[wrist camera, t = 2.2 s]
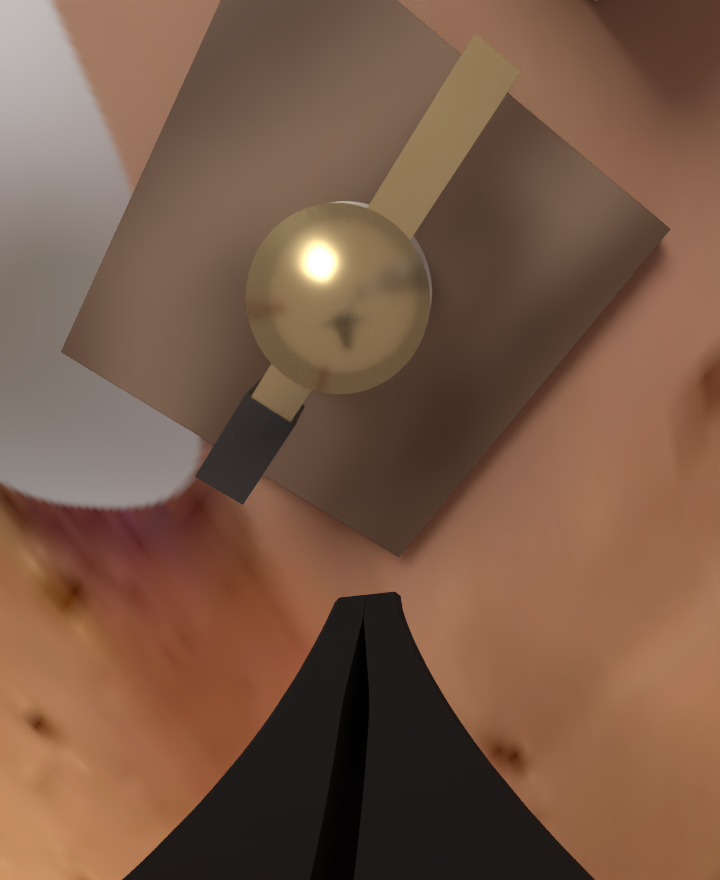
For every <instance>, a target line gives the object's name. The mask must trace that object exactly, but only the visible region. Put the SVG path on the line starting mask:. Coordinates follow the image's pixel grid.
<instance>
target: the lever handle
mask: <svg viewBox="0 0 720 880" xmlns="http://www.w3.org/2000/svg"><path fill="white" fill-rule="evenodd" d="M520 73H521V71H520V70H519V69H517V68H516V67H515V66H514V65H513V64H512V63H510V62H509V61H508V60H507V59H506V58H505V57H503V56H502V55H501V54H500V53H499V52H497V51H496V50H495V49H494V48H493V47H492V46H490V45H489V44H488V43H487V42H486V41H485V40H483V39H482V38H481V37H480V36H479V35H477V34H476V33H474V35H473V37H472V38H471V40H470V41H469V43H468V45H467V46H466V48H465V50H464V51H463V53H462V54H461V56H460V58H459V59H458V61H457V63H456V64H455V66H454V67H453V69H452V71H451V72H450V74H449V76H448V77H447V79H446V80H445V82H444V84H443V85H442V87H441V89H440V90H439V92H438V94H437V95H436V97H435V98H434V100H433V102H432V103H431V105H430V107H429V108H428V110H427V111H426V113H425V115H424V116H423V118H422V120H421V121H420V123H419V124H418V126H417V128H416V129H415V131H414V133H413V134H412V136H411V137H410V139H409V141H408V142H407V144H406V146H405V147H404V149H403V150H402V152H401V154H400V155H399V157H398V159H397V160H396V162H395V163H394V165H393V167H392V168H391V170H390V172H389V173H388V175H387V176H386V178H385V180H384V181H383V183H382V185H381V186H380V188H379V189H378V191H377V193H376V194H375V196H374V198H373V199H372V201H371V202H370V204H369V206H368V207H367V208H365V207H361V206H358V205H354V204H347V203H326V204H319V205H315V206H312V207H308V208H305V209H303V210H301V211H298V212H296V213H294V214H292V215H291V216H289V217H288V218H286V219H285V220H283V221H282V222H281V223H280V224H279V225H277V226H276V227H275V228H274V229H273V230H272V231H271V232H270V233H269V235H268V236H267V237H266V238H265V239H264V241H263V242H262V244H261V246H260V247H259V249H258V250H257V252H256V255H255V257H254V259H253V261H252V264H251V267H250V270H249V274H248V279H247V285H246V308H247V315H248V320H249V324H250V327H251V330H252V333H253V335H254V337H255V339H256V342H257V344H258V346H259V347H260V349H261V350H262V352H263V354H264V355H265V356H266V358H267V359H268V360H269V361H270V362H271V365H270V367H269V368H268V370H267V372H266V373H265V375H264V376H263V378H261V379H260V380H259V381H258V382H257V383H256V384H255V385H254V386H253V387H252V388H251V389H250V390H249V391H248V392H247V393H246V394H245V396H244V397H243V399H242V401H241V402H240V404H239V406H238V407H237V409H236V410H235V412H234V414H233V415H232V417H231V419H230V420H229V422H228V424H227V425H226V427H225V428H224V430H223V432H222V433H221V435H220V437H219V438H218V440H217V442H216V443H215V445H214V447H213V448H212V450H211V451H210V453H209V455H208V456H207V458H206V460H205V461H204V463H203V465H202V466H201V468H200V470H199V471H198V473H197V474H196V476H195V477H197V478H198V479H200V480H202V481H204V482H205V483H207V484H209V485H210V486H212V487H214V488H215V489H217V490H219V491H220V492H222V493H224V494H226V495H227V496H229V497H231V498H232V499H234V500H236V501H237V502H239V503H241V504H242V505H243V504H244V502H245V501H246V499H247V498H248V496H249V495H250V493H251V492H252V490H253V489H254V487H255V486H256V484H257V483H258V481H259V480H260V478H261V477H262V475H263V474H264V472H265V471H266V469H267V468H268V466H269V465H270V463H271V461H272V460H273V458H274V457H275V455H276V454H277V452H278V451H279V449H280V448H281V446H282V445H283V443H284V442H285V440H286V439H287V437H288V436H289V434H290V433H291V431H292V430H293V428H294V427H295V425H296V423H297V421H298V419H299V417H300V415H301V413H302V411H303V409H304V407H305V406H304V405H303V402H304V401H305V399H306V398H307V396H308V395H309V393H310V392H311V390H314V391H318V392H322V393H329V394H351V393H357V392H361V391H365V390H368V389H371V388H373V387H376V386H378V385H380V384H382V383H384V382H385V381H387V380H389V379H390V378H391V377H393V376H394V375H395V374H397V373H398V372H399V371H400V370H401V369H402V368H403V367H404V366H405V365H406V364H407V363H408V361H409V360H410V359H411V358H412V356H413V355H414V353H415V352H416V350H417V348H418V347H419V345H420V343H421V340H422V338H423V336H424V333H425V330H426V327H427V324H428V318H429V313H430V288H429V282H428V277H427V273H426V270H425V267H424V264H423V261H422V259H421V257H420V255H419V253H418V251H417V250H416V248H415V247H414V245H413V244H412V242H411V241H410V240H411V238H412V237H413V235H414V234H415V232H416V231H417V229H418V228H419V226H420V225H421V223H422V222H423V220H424V218H425V217H426V215H427V214H428V212H429V211H430V209H431V208H432V206H433V205H434V203H435V202H436V200H437V199H438V197H439V196H440V194H441V193H442V191H443V190H444V188H445V187H446V185H447V184H448V182H449V180H450V179H451V177H452V176H453V174H454V173H455V171H456V170H457V168H458V167H459V165H460V164H461V162H462V161H463V159H464V158H465V156H466V155H467V153H468V152H469V150H470V149H471V147H472V145H473V144H474V142H475V141H476V139H477V138H478V136H479V135H480V133H481V132H482V130H483V129H484V127H485V126H486V124H487V123H488V121H489V120H490V118H491V117H492V115H493V114H494V112H495V111H496V109H497V107H498V106H499V104H500V103H501V101H502V100H503V98H504V97H505V95H506V94H507V92H508V91H509V89H510V88H511V86H512V85H513V83H514V82H515V80H516V79H517V77H518V76H519V74H520Z"/></svg>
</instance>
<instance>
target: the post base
mask: <svg viewBox="0 0 720 880" xmlns="http://www.w3.org/2000/svg"><path fill="white" fill-rule="evenodd" d="M460 56H461V54H460V53H459V52H458V51H457V50H456V49H454V48H453V47H452V46H451V45H450V44H448V43H447V42H446V41H445V40H444V39H442V38H441V37H440V36H439V35H438V34H436V33H435V32H434V31H433V30H432V29H430V28H429V27H428V26H427V25H426V24H425V23H423V22H422V21H421V20H420V19H419V18H417V17H416V16H415V15H414V14H413V13H411V12H410V11H409V10H408V9H407V8H405V7H404V6H403V5H402V4H401V3H399V2H398V1H397V0H221V1H220V4H219V6H218V8H217V10H216V12H215V14H214V17H213V19H212V21H211V23H210V25H209V28H208V30H207V32H206V34H205V36H204V39H203V41H202V43H201V45H200V47H199V50H198V52H197V54H196V56H195V58H194V61H193V63H192V65H191V67H190V69H189V72H188V74H187V76H186V78H185V80H184V83H183V85H182V87H181V89H180V91H179V94H178V96H177V98H176V100H175V102H174V105H173V107H172V109H171V111H170V113H169V116H168V118H167V120H166V122H165V124H164V127H163V129H162V131H161V133H160V135H159V138H158V140H157V142H156V144H155V146H154V149H153V151H152V153H151V155H150V157H149V160H148V162H147V164H146V166H145V168H144V171H143V173H142V175H141V177H140V179H139V182H138V184H137V186H136V188H135V190H134V193H133V195H132V197H131V199H130V201H129V204H128V206H127V208H126V210H125V212H124V215H123V217H122V219H121V221H120V223H119V225H118V228H117V230H116V232H115V234H114V236H113V239H112V241H111V243H110V245H109V247H108V250H107V252H106V254H105V256H104V258H103V261H102V263H101V265H100V267H99V269H98V272H97V274H96V276H95V278H94V280H93V283H92V285H91V287H90V289H89V291H88V294H87V296H86V298H85V301H84V302H83V305H82V307H81V309H80V311H79V313H78V316H77V318H76V320H75V322H74V324H73V327H72V329H71V331H70V333H69V335H68V338H67V340H66V342H65V344H64V346H63V349H62V351H61V352H62V353H64V354H65V355H67V356H69V357H70V358H72V359H73V360H75V361H77V362H79V363H80V364H82V365H83V366H85V367H86V368H88V369H90V370H91V371H93V372H95V373H97V374H98V375H100V376H101V377H103V378H105V379H106V380H108V381H110V382H111V383H113V384H114V385H116V386H118V387H119V388H121V389H123V390H125V391H126V392H128V393H129V394H131V395H133V396H134V397H136V398H138V399H139V400H141V401H142V402H144V403H146V404H148V405H149V406H151V407H152V408H154V409H156V410H157V411H159V412H161V413H162V414H164V415H166V416H167V417H169V418H170V419H172V420H174V421H175V422H177V423H179V424H180V425H182V426H184V427H185V428H187V429H189V430H191V431H192V432H194V433H195V434H197V435H198V436H200V437H202V438H203V439H205V440H207V441H208V442H210V443H212V444H213V445H215V443H216V442H217V440H218V438H219V437H220V435H221V433H222V432H223V430H224V428H225V427H226V425H227V424H228V422H229V420H230V419H231V417H232V415H233V414H234V412H235V410H236V409H237V407H238V406H239V404H240V402H241V401H242V399H243V397H244V396H245V394H246V393H247V392H248V391H249V390H250V389H251V388H252V387H253V386H254V385H255V384H256V383H257V382H258V381H259V380H260V379H261V378H263V376H264V375H265V373H266V372H267V370H268V368H269V367H270V365H271V362H270V361H269V360H268V359H267V358H266V356H265V355H264V354H263V352H262V350H261V349H260V347H259V346H258V344H257V342H256V339H255V337H254V335H253V333H252V330H251V327H250V324H249V320H248V315H247V308H246V285H247V279H248V274H249V270H250V267H251V264H252V261H253V259H254V257H255V255H256V252H257V250H258V249H259V247H260V246H261V244H262V242H263V241H264V239H265V238H266V237H267V236H268V235H269V233H270V232H271V231H272V230H273V229H274V228H275V227H276V226H277V225H279V224H280V223H281V222H282V221H283V220H285V219H286V218H288V217H289V216H291V215H292V214H294V213H296V212H298V211H301V210H303V209H305V208H308V207H312V206H315V205H319V204H326V203H347V204H354V205H358V206H361V207H365V208H367V207H368V206H369V204H370V202H371V201H372V199H373V198H374V196H375V194H376V193H377V191H378V189H379V188H380V186H381V185H382V183H383V181H384V180H385V178H386V176H387V175H388V173H389V172H390V170H391V168H392V167H393V165H394V163H395V162H396V160H397V159H398V157H399V155H400V154H401V152H402V150H403V149H404V147H405V146H406V144H407V142H408V141H409V139H410V137H411V136H412V134H413V133H414V131H415V129H416V128H417V126H418V124H419V123H420V121H421V120H422V118H423V116H424V115H425V113H426V111H427V110H428V108H429V107H430V105H431V103H432V102H433V100H434V98H435V97H436V95H437V94H438V92H439V90H440V89H441V87H442V85H443V84H444V82H445V80H446V79H447V77H448V76H449V74H450V72H451V71H452V69H453V67H454V66H455V64H456V63H457V61H458V59H459V58H460ZM669 230H670V228H669V227H668V226H666V225H665V224H664V223H663V222H662V221H660V220H659V219H658V218H657V217H656V216H654V215H653V214H652V213H651V212H650V211H648V210H647V209H646V208H645V207H644V206H642V205H641V204H640V203H639V202H638V201H636V200H635V199H634V198H633V197H632V196H630V195H629V194H628V193H627V192H626V191H624V190H623V189H622V188H621V187H620V186H618V185H617V184H616V183H615V182H614V181H612V180H611V179H610V178H609V177H608V176H606V175H605V174H604V173H603V172H602V171H601V170H599V169H598V168H597V167H596V166H595V165H593V164H592V163H591V162H590V161H589V160H587V159H586V158H585V157H584V156H583V155H581V154H580V153H579V152H578V151H577V150H575V149H574V148H573V147H572V146H571V145H569V144H568V143H567V142H566V141H565V140H563V139H562V138H561V137H560V136H559V135H557V134H556V133H555V132H554V131H553V130H551V129H550V128H549V127H548V126H547V125H545V124H544V123H543V122H542V121H541V120H539V119H538V118H537V117H536V116H535V115H533V114H532V113H531V112H530V111H529V110H527V109H526V108H525V107H524V106H523V105H521V104H520V103H519V102H518V101H517V100H516V99H514V98H513V97H512V96H511V95H510V94H508V93H507V94H506V95H505V97H504V98H503V100H502V101H501V103H500V104H499V106H498V107H497V109H496V111H495V112H494V114H493V115H492V117H491V118H490V120H489V121H488V123H487V124H486V126H485V127H484V129H483V130H482V132H481V133H480V135H479V136H478V138H477V139H476V141H475V142H474V144H473V145H472V147H471V149H470V150H469V152H468V153H467V155H466V156H465V158H464V159H463V161H462V162H461V164H460V165H459V167H458V168H457V170H456V171H455V173H454V174H453V176H452V177H451V179H450V180H449V182H448V184H447V185H446V187H445V188H444V190H443V191H442V193H441V194H440V196H439V197H438V199H437V200H436V202H435V203H434V205H433V206H432V208H431V209H430V211H429V212H428V214H427V215H426V217H425V218H424V220H423V222H422V223H421V225H420V226H419V228H418V229H417V231H416V232H415V234H414V235H413V237H412V238H411V240H410V241H411V242H412V244H413V245H414V247H415V248H416V250H417V251H418V253H419V255H420V257H421V259H422V261H423V264H424V267H425V270H426V273H427V277H428V282H429V288H430V313H429V318H428V324H427V327H426V330H425V333H424V336H423V338H422V340H421V343H420V345H419V347H418V348H417V350H416V352H415V353H414V355H413V356H412V358H411V359H410V360H409V361H408V363H407V364H406V365H405V366H404V367H403V368H402V369H401V370H400V371H399V372H398V373H397V374H395V375H394V376H393V377H391V378H390V379H389V380H387V381H385V382H384V383H382V384H380V385H378V386H376V387H373V388H371V389H368V390H365V391H361V392H357V393H351V394H329V393H322V392H318V391H314V390H311V392H310V393H309V395H308V396H307V398H306V399H305V401H304V402H303V405H304V406H305V407H304V409H303V411H302V413H301V415H300V417H299V419H298V421H297V423H296V425H295V427H294V428H293V430H292V431H291V433H290V434H289V436H288V437H287V439H286V440H285V442H284V443H283V445H282V446H281V448H280V449H279V451H278V452H277V454H276V455H275V457H274V458H273V460H272V461H271V463H270V465H269V466H268V468H267V469H266V471H265V472H264V474H263V475H264V476H266V477H268V478H269V479H271V480H273V481H274V482H276V483H278V484H279V485H281V486H282V487H284V488H286V489H287V490H289V491H291V492H292V493H294V494H296V495H297V496H299V497H301V498H302V499H304V500H306V501H307V502H309V503H310V504H312V505H314V506H315V507H317V508H319V509H320V510H322V511H324V512H325V513H327V514H329V515H330V516H332V517H334V518H335V519H337V520H338V521H340V522H342V523H343V524H345V525H347V526H348V527H350V528H352V529H353V530H355V531H357V532H358V533H360V534H362V535H363V536H365V537H366V538H368V539H370V540H371V541H373V542H375V543H376V544H378V545H380V546H381V547H383V548H385V549H386V550H388V551H390V552H391V553H393V554H394V555H396V556H398V557H399V556H400V555H401V554H402V553H403V551H404V550H405V549H406V548H407V547H408V545H409V544H410V543H411V542H412V541H413V539H414V538H415V537H416V536H417V535H418V533H419V532H420V531H421V530H422V529H423V527H424V526H425V525H426V524H427V523H428V521H429V520H430V519H431V518H432V516H433V515H434V514H435V513H436V512H437V510H438V509H439V508H440V507H441V506H442V504H443V503H444V502H445V501H446V500H447V498H448V497H449V496H450V495H451V494H452V492H453V491H454V490H455V489H456V487H457V486H458V485H459V484H460V483H461V481H462V480H463V479H464V478H465V477H466V475H467V474H468V473H469V472H470V471H471V469H472V468H473V467H474V466H475V465H476V463H477V462H478V461H479V460H480V459H481V457H482V456H483V455H484V454H485V452H486V451H487V450H488V449H489V448H490V446H491V445H492V444H493V443H494V442H495V440H496V439H497V438H498V437H499V436H500V434H501V433H502V432H503V431H504V430H505V428H506V427H507V426H508V425H509V423H510V422H511V421H512V420H513V419H514V417H515V416H516V415H517V414H518V413H519V411H520V410H521V409H522V408H523V407H524V405H525V404H526V403H527V402H528V401H529V399H530V398H531V397H532V396H533V395H534V393H535V392H536V391H537V390H538V388H539V387H540V386H541V385H542V384H543V382H544V381H545V380H546V379H547V378H548V376H549V375H550V374H551V373H552V372H553V370H554V369H555V368H556V367H557V366H558V364H559V363H560V362H561V361H562V359H563V358H564V357H565V356H566V355H567V353H568V352H569V351H570V350H571V349H572V347H573V346H574V345H575V344H576V343H577V341H578V340H579V339H580V338H581V337H582V335H583V334H584V333H585V332H586V331H587V329H588V328H589V327H590V326H591V324H592V323H593V322H594V321H595V320H596V318H597V317H598V316H599V315H600V314H601V312H602V311H603V310H604V309H605V308H606V306H607V305H608V304H609V303H610V302H611V300H612V299H613V298H614V297H615V295H616V294H617V293H618V292H619V291H620V289H621V288H622V287H623V286H624V285H625V283H626V282H627V281H628V280H629V279H630V277H631V276H632V275H633V274H634V273H635V271H636V270H637V269H638V268H639V266H640V265H641V264H642V263H643V262H644V260H645V259H646V258H647V257H648V256H649V254H650V253H651V252H652V251H653V250H654V248H655V247H656V246H657V245H658V244H659V242H660V241H661V240H662V239H663V238H664V236H665V235H666V234H667V233H668V231H669Z"/></svg>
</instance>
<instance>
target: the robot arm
mask: <svg viewBox="0 0 720 880" xmlns="http://www.w3.org/2000/svg"><path fill="white" fill-rule="evenodd" d="M123 880H595V879H594V878H593V877H592V876H591V875H590V874H589V873H588V872H587V871H586V870H585V869H584V868H583V867H582V866H581V865H580V864H579V863H578V862H577V861H576V860H575V859H574V858H573V857H572V856H571V855H570V854H569V853H568V852H567V851H566V850H565V849H564V848H563V847H562V846H561V844H560V843H559V842H558V841H557V840H556V839H555V838H554V837H553V836H552V835H551V833H550V832H549V831H548V830H547V829H546V828H545V827H544V826H543V825H542V824H541V822H540V821H539V820H538V819H537V818H536V817H535V816H534V815H533V814H532V813H531V811H530V810H529V809H528V808H527V807H526V806H525V804H524V803H523V802H522V801H521V799H520V798H519V797H518V796H517V795H516V793H515V792H514V791H513V790H512V789H511V787H510V786H509V785H508V784H507V783H506V781H505V780H504V779H503V778H502V777H501V775H500V774H499V773H498V772H497V771H496V769H495V768H494V767H493V766H492V764H491V763H490V762H489V761H488V759H487V758H486V757H485V755H484V754H483V752H482V751H481V750H480V748H479V747H478V746H477V744H476V743H475V742H474V740H473V739H472V738H471V736H470V735H469V733H468V732H467V730H466V729H465V728H464V726H463V725H462V723H461V722H460V720H459V719H458V717H457V716H456V714H455V713H454V711H453V710H452V708H451V707H450V705H449V703H448V702H447V700H446V699H445V697H444V695H443V694H442V692H441V690H440V689H439V687H438V685H437V684H436V682H435V680H434V678H433V677H432V675H431V673H430V671H429V669H428V667H427V666H426V664H425V662H424V660H423V658H422V656H421V654H420V652H419V650H418V648H417V646H416V643H415V641H414V639H413V637H412V634H411V632H410V629H409V627H408V624H407V622H406V619H405V616H404V613H403V609H402V603H401V596H400V595H399V594H397V593H396V592H388V593H378V594H369V595H360V596H351V597H342V598H338V600H337V601H336V602H335V603H334V606H333V608H332V610H331V612H330V614H329V616H328V619H327V621H326V623H325V625H324V627H323V629H322V631H321V633H320V635H319V636H318V638H317V640H316V642H315V644H314V646H313V648H312V649H311V651H310V653H309V655H308V656H307V658H306V660H305V662H304V663H303V665H302V667H301V669H300V670H299V672H298V674H297V675H296V677H295V679H294V680H293V682H292V683H291V685H290V686H289V688H288V689H287V691H286V693H285V694H284V696H283V697H282V699H281V700H280V702H279V703H278V705H277V706H276V708H275V709H274V711H273V712H272V714H271V715H270V717H269V718H268V719H267V721H266V722H265V724H264V725H263V726H262V728H261V729H260V730H259V732H258V733H257V735H256V736H255V737H254V738H253V740H252V741H251V742H250V744H249V745H248V746H247V748H246V749H245V750H244V751H243V753H242V754H241V755H240V756H239V758H238V759H237V760H236V761H235V762H234V764H233V765H232V766H231V767H230V768H229V770H228V771H227V772H226V773H225V774H224V776H223V777H222V778H221V779H220V780H219V781H218V783H217V784H216V785H215V786H214V787H213V789H212V790H211V791H210V792H209V793H208V794H207V795H206V796H205V797H204V799H203V800H202V801H201V802H200V803H199V804H198V805H197V806H196V807H195V808H194V810H193V811H192V812H191V813H190V814H189V815H188V816H187V817H186V818H185V819H184V820H183V821H182V822H181V823H180V824H179V825H178V826H177V827H176V828H175V829H174V830H173V831H172V832H171V833H170V834H169V835H168V836H167V837H166V838H165V839H164V840H163V841H162V842H161V843H160V844H159V845H158V846H157V847H156V848H155V849H154V850H153V851H152V852H151V853H150V854H149V855H148V856H147V857H146V858H145V859H144V860H143V861H142V862H141V863H140V864H139V865H138V866H137V867H136V868H135V869H134V870H132V871H131V872H130V873H129V874H128V875H127V876H126V877H125V878H124V879H123Z"/></svg>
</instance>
